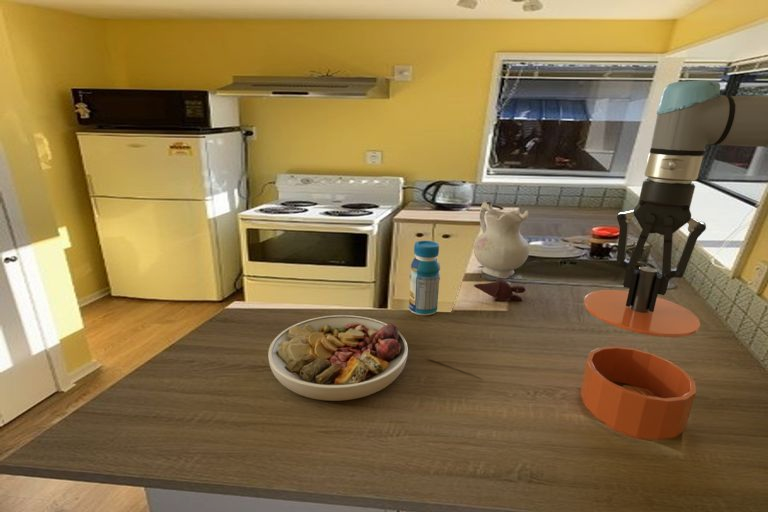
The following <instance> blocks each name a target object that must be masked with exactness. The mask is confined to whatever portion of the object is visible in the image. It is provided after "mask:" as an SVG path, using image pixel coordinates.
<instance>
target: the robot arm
mask: <svg viewBox="0 0 768 512" xmlns="http://www.w3.org/2000/svg"><path fill="white" fill-rule="evenodd" d="M707 145H708V146H709V145H710V146H735V147H757V148H759V147H760V148H761V147H762V148H765V149H768V94H767V95H765V94H764V95H724V94H721V84H720V82H718V81H714V80H687V81H686V80H685V81H684V80H683V81H675V82H671V83H669V84H668V85H666V86H665V88H664V89H663V91H662V94H661V97H660V101H659V105H658V109H657V111H656V118H655V124H654V128H653V133H652V139H651V143H650V148H649V153H648V157H647V161H646V165H645V170H644V176H645V177H647V178H646V179H644V180H642V185H641V190H640V193H639V200H638V203H637V205H636V206H634V209H633V210H629V211H620V212H619V213H618V214H617V216H616V219H617V223H618V226H619V229H618V231H619V232H618V241H617V252H616V262H615V264H616V266H617V267H618V268H622V269H623V270H624V271H625V273H624V274H625V275H624V279H623V283H622V286H623V288H627V289H628V291H629V293H628V297H627V302H626V306H628V307H630V306H631V302H632V297H633V293H634V289H635V284H636V280H637V275H638V270H639V269H636V266H637V264H638V260H639V259H640V257H641V254H642V252H643V249H644V247H645V244H646V242H647V240H648V237H649V236H650V234H657V235H661V236H663V245H662V246H663V247H662V248H663V249H662V267H661V271H662V272H661V273H658V274H657V278H656V282H655V286H654V290H653V295H652V299H651V303H650V307H649V311H650V312H654V307H655V303H656V299H657V297H658V295H661V296H665V295H666V294H667V291H668V288H669V287H668V285H669V282H670V280H671V279H673V278H678V279H680V278H683V277H684V275H685V273H686V270H687V267H688V264H689V262H690V259H691V257H692V253H693V252H694V248H695V246H696V244H697V241H698V238H699V237H700V236H701V235H702V234H703V232H706V230H707V224H706V222H705V221H699V220H698V219H696V218H694V217H692V212H691V206H692V205H691V204H692V200H693V196H694V193H695V189H696V185H695V183H694V182H693V181H696V180H698V177H699V174H700V169H701V166H702V162H703V157H704V155H705V149H706V146H707ZM634 217H635V219H636V221H637V222H638V224H639V226H640V228H641V232H640V234H639V237H638V239H637V242H636V244H635V246H634V249H633V252H632V254H631V256H630V258H629V260H627V259H626V257H627V246H628V239H629V230H630V229H629V228H630V225H629V224H631V223H632V221H633V218H634ZM686 224H688V227H687V231H688V232H689V233H688V234H687V238H686V241H685V243H684V246H683V249H682V251H681V254H680V256H679V259H678V262H677V264H676V266H675V268H672V259H673V256H672V255H673V254H672V253H673V240H674V239H673V238H674V233H676V232H677V231H679V229H681V228H682V227H683V226H685V225H686Z"/></svg>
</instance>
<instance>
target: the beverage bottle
mask: <svg viewBox="0 0 768 512" xmlns="http://www.w3.org/2000/svg"><path fill="white" fill-rule="evenodd" d="M439 253H440V244H439V243H438V242H436V241H433V240H432V241H431V240H418V241H416V242H415V243H414V247H413V254H414V256H415V257H414V258H413V260H412V261H411V264H410V269H411V271H410V273H409V301H408V310H409V311H410V312H411V313H412V314H414V315H416V316H417V315H418V316H432V315H434V314H436V313H437V311H438V304H439V303H438V302H439V289H440V280H441V274H440V271H441V265H440V261H439V260H438V258H437V257H439Z"/></svg>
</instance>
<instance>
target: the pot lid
mask: <svg viewBox="0 0 768 512" xmlns="http://www.w3.org/2000/svg"><path fill="white" fill-rule="evenodd" d="M637 270H638V275H637V280H636V284H635V289H634V293H633V297H632V302H631V306H630V307H628V306H626V302H627V297H628V293H629V290H624V289H623V290H621V289H602V290H596V291H593V292H590V293H588V294H587V295H585V296H584V298H583V299H584V300H583V305H584V307H585V308H586V310H587V311H588V312H589V313H590V314H592V316H594V317H595V318H597V319H599V320H601V321H602V322H604V323H607V324H609V325H612V326H614V327H616V328H620V329H623V330H626V331H630V332H633V333H637V334H641V335H646V336H651V337H663V338H682V337H683V338H684V337H688V336H689V337H690V336H691V335H694V334H697V332H699V330H700V328H701V321H700V319H699V318H698V316H697V315H696V314H695V313H693V312H692V311H690V310H689V309H688V308H686V307H684V306H682V305H680V304H678V303H676V302H674V301H670V300H667V299H665V298H662V297H659V296H657V299H656V303H655V307H654V312H650V311H649V307H650V303H651V299H652V295H653V290H654V286H655V282H656V278H657V274H659V270H658V269H656V268H654V267H650V266H639V268H638V269H637Z"/></svg>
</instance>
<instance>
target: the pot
mask: <svg viewBox="0 0 768 512" xmlns="http://www.w3.org/2000/svg"><path fill="white" fill-rule="evenodd" d="M616 383H623V384H626V385H629V386H634V387H639V388H643V389H648V390H650V391H651V392H653V394H654V395H656V396H657V397H651V396H645V395H642V394H639V393H636V392H633V391H629V390H626V389H624V388H622V387H620V386H621V385H618V384H616ZM579 395H580V397H581V400H582V403H583V405H584V406H585V408H587V410H589V412H591V413H592V415H593V416H595V417H596V418H597V419H598V420H600V421H599V422H600V423H601V424H603V426H606V427H607V428H609V429H610V430H613V431H616V432H618V433H620V434H622V435H625V436H627V437H631V438H634V439H638V440H642V441H648V442H652V439H653V440H658V441H659V440H667V439H673V438H674V439H675V438H677V437H678V436H679V435H681V433H683V432H684V431H685V430H686V427H687V424H688V420H689V417H690V414H691V410H692V408H693V404H694V400H695V397H696V395H697V383H696V382H695V380H694V379H693V378H692V376H691V375H690V374H689V372H687V371H686V370H684V369H683V368H681V367H679V366H678V365H677V364H675V363H673V361H671V360H668V359H666V358H663V357H661V356H659V355H658V354H655V353H652V352H648V351H644V350H641V349H637V348H633V347H625V346H617V345H615V346H613V345H612V346H603V347H598V348H596V349H594V350H591V351H590V352H589V353H588V357H587V359H586V362H585V368H584V373H583V377H582V383H581V388H580V393H579Z"/></svg>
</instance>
